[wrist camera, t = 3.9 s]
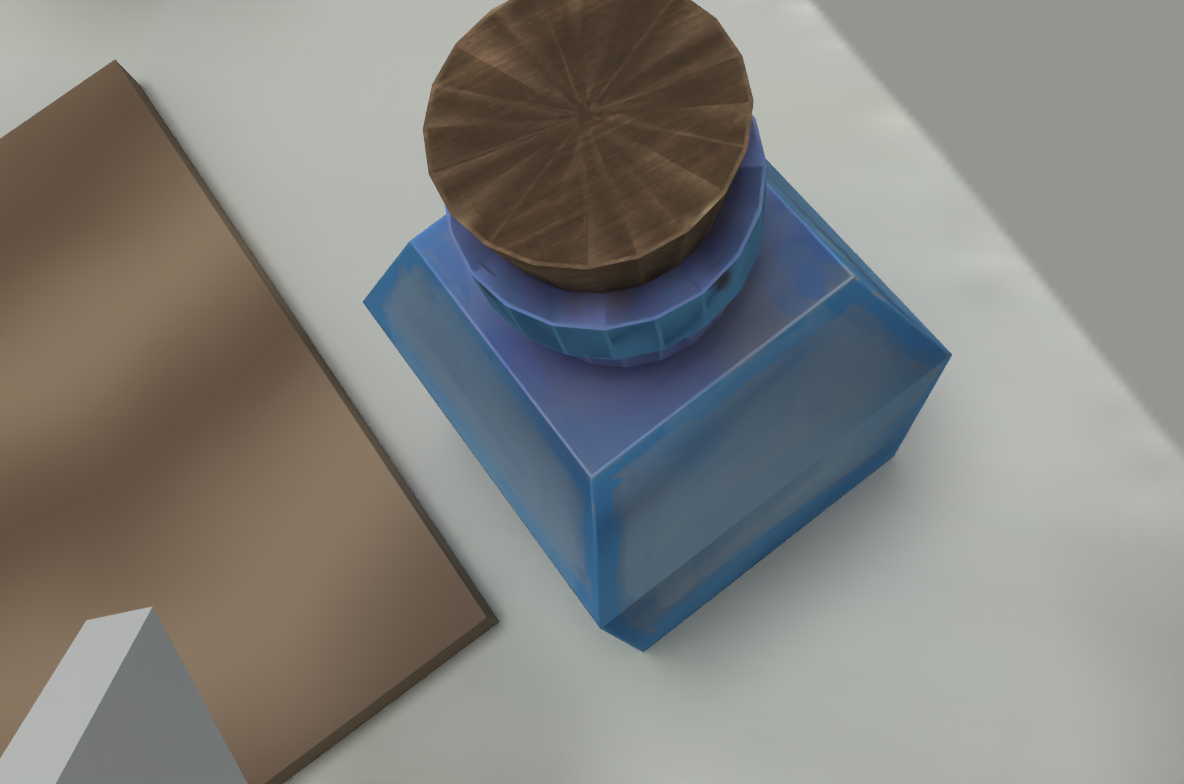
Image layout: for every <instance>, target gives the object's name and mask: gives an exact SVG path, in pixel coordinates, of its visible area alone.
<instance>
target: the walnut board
mask: <svg viewBox="0 0 1184 784" xmlns="http://www.w3.org/2000/svg"><path fill="white" fill-rule="evenodd" d="M152 606H153V608H154V610H155V612H156V614H157V615H158V617H159V619H160V621H161V623H162V625H163V627H164V628H165V630H166V632H167V634H168V636H169V638H170V640H171V642H172V643H173V645H174V647H175V649H176V651H177V653H178V655H179V656H180V658H181V660H182V662H183V664H184V666H185V668H186V670H187V671H188V673H189V675H190V677H191V679H192V681H193V683H194V684H195V686H196V688H197V690H198V692H199V694H200V696H201V698H202V699H203V701H204V703H205V705H206V707H207V709H208V711H209V712H210V714H211V716H212V718H213V720H214V722H215V724H216V726H217V727H218V729H219V731H220V733H221V735H222V737H223V739H224V740H225V742H226V744H227V746H228V748H229V750H230V752H231V754H232V755H233V757H234V759H235V761H236V763H237V765H238V767H239V768H240V770H241V772H242V774H243V776H244V778H245V780H246V781H247V783H248V784H282V783H284V782H285V781H286V780H288V779H289V778H290V777H292V776H293V775H294V774H296V773H297V772H298V771H300V770H301V769H302V768H304V767H305V766H306V765H308V764H309V763H310V762H312V761H313V760H314V759H316V758H317V757H318V756H320V755H321V754H322V753H324V752H325V751H326V750H328V749H329V748H331V747H332V746H333V745H335V744H336V743H337V742H339V741H340V740H341V739H343V738H344V737H345V736H347V735H348V734H349V733H351V732H352V731H353V730H355V729H356V728H357V727H359V726H360V725H361V724H363V723H364V722H365V721H367V720H368V719H369V718H371V717H372V716H373V715H375V714H376V713H377V712H379V711H380V710H381V709H383V708H384V707H385V706H387V705H388V704H389V703H391V702H392V701H393V700H395V699H396V698H397V697H399V696H400V695H401V694H403V693H404V692H405V691H407V690H408V689H409V688H411V687H412V686H413V685H415V684H416V683H417V682H419V681H420V680H421V679H423V678H424V677H425V676H427V675H428V674H429V673H431V672H432V671H433V670H435V669H436V668H437V667H439V666H440V665H441V664H443V663H444V662H445V661H447V660H448V659H449V658H451V657H452V656H453V655H455V654H456V653H458V652H459V651H460V650H462V649H463V648H464V647H466V646H467V645H468V644H470V643H471V642H472V641H474V640H475V639H476V638H478V637H479V636H480V635H482V634H483V633H484V632H486V631H487V630H488V629H490V628H491V627H492V626H494V625H495V624H496V623H498V622H499V621H498V620H497V618H496V617H495V615H494V614H493V612H492V611H491V609H490V608H489V606H488V605H487V603H486V602H485V600H484V599H483V597H482V596H481V594H480V593H479V591H478V590H477V588H476V587H475V585H474V584H473V582H472V581H471V579H470V578H469V576H468V575H467V573H466V572H465V570H464V569H463V567H462V566H461V564H460V563H459V561H458V560H457V558H456V557H455V555H454V554H453V552H452V551H451V549H450V548H449V546H448V545H447V543H446V542H445V540H444V539H443V538H442V536H441V535H440V533H439V532H438V530H437V529H436V527H435V526H434V524H433V523H432V521H431V520H430V518H429V517H428V515H427V514H426V512H425V511H424V509H423V508H422V506H421V505H420V503H419V502H418V500H417V499H416V497H415V496H414V494H413V493H412V491H411V490H410V488H409V487H408V485H407V484H406V482H405V481H404V479H403V478H402V476H401V475H400V473H399V472H398V470H397V469H396V467H395V466H394V464H393V463H392V461H391V460H390V458H389V457H388V455H387V454H386V452H385V451H384V449H383V448H382V446H381V445H380V443H379V442H378V440H377V439H376V437H375V436H374V434H373V433H372V432H371V430H370V429H369V427H368V426H367V424H366V423H365V421H364V420H363V418H362V417H361V415H360V414H359V412H358V411H357V409H356V408H355V406H354V405H353V403H352V402H351V400H350V399H349V397H348V396H347V394H346V393H345V391H344V390H343V388H342V387H341V385H340V384H339V382H338V381H337V379H336V378H335V376H334V375H333V373H332V372H331V370H330V369H329V367H328V366H327V364H326V363H325V361H324V360H323V358H322V357H321V355H320V354H319V352H318V351H317V349H316V348H315V346H314V345H313V343H312V342H311V340H310V339H309V337H308V336H307V334H306V333H305V331H304V330H303V328H302V327H301V325H300V324H299V323H298V321H297V320H296V318H295V317H294V315H293V314H292V312H291V311H290V309H289V308H288V306H287V305H286V303H285V302H284V300H283V299H282V297H281V296H280V294H279V293H278V291H277V290H276V288H275V287H274V285H273V284H272V282H271V281H270V279H269V278H268V276H267V275H266V273H265V272H264V270H263V269H262V267H261V266H260V264H259V263H258V261H257V260H256V258H255V257H254V255H253V254H252V252H251V251H250V249H249V248H248V246H247V245H246V243H245V242H244V240H243V239H242V237H241V236H240V234H239V233H238V231H237V230H236V228H235V227H234V225H233V224H232V222H231V221H230V219H229V218H228V217H227V215H226V214H225V212H224V211H223V209H222V208H221V206H220V205H219V203H218V202H217V200H216V199H215V197H214V196H213V194H212V193H211V191H210V190H209V188H208V187H207V185H206V184H205V182H204V181H203V179H202V178H201V176H200V175H199V173H198V172H197V170H196V169H195V167H194V166H193V164H192V163H191V161H190V160H189V158H188V157H187V155H186V154H185V152H184V151H183V149H182V148H181V146H180V145H179V143H178V142H177V140H176V139H175V137H174V136H173V134H172V133H171V131H170V130H169V128H168V127H167V125H166V124H165V122H164V121H163V119H162V118H161V116H160V115H159V113H158V112H157V110H156V109H155V108H154V106H153V105H152V103H151V102H150V100H149V99H148V97H147V96H146V94H145V93H144V91H143V90H142V88H141V87H140V85H139V84H138V83H137V82H136V81H135V79H134V78H133V77H132V76H131V75H130V74H129V73H128V72H127V71H126V70H125V69H124V68H123V67H122V66H121V65H120V64H119V63H118V62H117V61H116V60H114V61H112V62H111V63H109V64H108V65H106V66H105V67H103V68H102V69H101V70H99V71H98V72H96V73H95V74H93V75H92V76H90V77H89V78H88V79H86V80H85V81H83V82H82V83H80V84H79V85H77V86H76V87H75V88H73V89H72V90H70V91H69V92H67V93H66V94H64V95H63V96H61V97H60V98H59V99H57V100H56V101H54V102H53V103H51V104H50V105H48V106H47V107H46V108H44V109H43V110H41V111H40V112H38V113H37V114H35V115H34V116H32V117H31V118H30V119H28V120H27V121H25V122H24V123H22V124H21V125H19V126H18V127H17V128H15V129H14V130H12V131H11V132H9V133H8V134H6V135H5V136H3V137H2V138H1V139H0V758H1V756H2V755H3V753H4V751H5V750H6V748H7V747H8V745H9V743H10V742H11V740H12V739H13V737H14V735H15V734H16V732H17V731H18V729H19V727H20V726H21V724H22V723H23V721H24V719H25V718H26V716H27V715H28V713H29V711H30V710H31V708H32V707H33V705H34V703H35V702H36V700H37V699H38V697H39V695H40V694H41V692H42V691H43V689H44V687H45V686H46V684H47V683H48V681H49V679H50V678H51V676H52V675H53V673H54V671H55V670H56V668H57V667H58V665H59V663H60V662H61V660H62V659H63V657H64V655H65V654H66V652H67V651H68V649H69V647H70V646H71V644H72V643H73V641H74V639H75V638H76V636H77V635H78V633H79V631H80V630H81V628H82V627H83V625H84V623H85V622H86V620H90V619H95V618H100V617H105V616H109V615H114V614H119V613H124V612H128V611H133V610H138V609H143V608H148V607H152Z"/></svg>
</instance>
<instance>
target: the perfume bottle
mask: <svg viewBox="0 0 1184 784" xmlns="http://www.w3.org/2000/svg"><path fill="white" fill-rule="evenodd" d="M752 109H753V97H752V93H751V89H750V85H749V81H748V77H747V73H746V69H745V65H744V61H743V57H742V55H741V53H740V52H739V50H738V49H737V48H736V46H735V45H734V43H733V42H732V40H731V39H730V38H729V36H728V35H727V33H726V32H725V30H724V29H723V27H722V26H721V25H720V23H719V22H718V20H717V19H716V18H715V17H714V16H712V15H711V14H709V13H708V12H707V11H705V10H704V9H703V8H701V7H700V6H698V5H697V4H696V3H694V2H693V1H691V0H509V1H507V2H505V3H503V4H501V5H499V6H498V7H496V8H494V9H492V10H491V11H490V12H488V13H487V14H486V15H485V16H484V17H483V18H482V19H481V20H480V21H479V22H478V23H477V24H476V25H475V26H474V27H473V28H472V29H471V30H470V31H469V32H468V33H466V34H465V35H464V36H463V37H462V38H461V39H460V40H459V41H458V42H457V43H456V44H455V46H454V48H453V49H452V51H451V53H450V55H449V56H448V58H447V60H446V62H445V63H444V65H443V67H442V69H441V70H440V72H439V74H438V76H437V77H436V79H435V81H434V82H433V84H432V88H431V93H430V98H429V102H428V107H427V112H426V117H425V121H424V126H423V134H424V142H425V149H426V157H427V164H428V172H429V175H430V177H431V179H432V181H433V183H434V185H435V186H436V188H437V190H438V192H439V194H440V196H441V198H442V200H443V201H444V203H445V206H446V213H447V214H446V215H445V216H443V217H442V218H441V219H439V220H438V221H436V222H435V223H434V224H432V225H431V226H430V227H428V228H427V229H426V230H424V231H423V232H422V233H420V234H419V235H417V236H416V237H415V238H413V239H412V240H411V241H409V243H408V244H407V245H406V247H405V248H404V249H403V250H402V252H401V253H400V254H399V256H398V257H397V258H396V259H395V261H394V262H393V263H392V265H391V266H390V267H389V268H388V270H387V271H386V272H385V274H384V275H383V276H382V278H381V279H380V280H379V281H378V283H377V284H376V285H375V287H374V288H373V289H372V290H371V292H370V293H369V294H368V296H367V297H366V298H365V299H364V301H363V303H364V304H365V306H366V307H367V309H368V310H369V311H370V313H371V314H372V315H373V317H374V318H375V320H376V321H377V322H378V324H379V325H380V326H381V328H382V329H383V331H384V332H385V333H386V335H387V336H388V337H389V339H390V340H391V342H392V343H393V344H394V346H395V347H396V348H397V350H398V351H399V353H400V354H401V355H402V357H403V358H404V359H405V361H406V362H407V364H408V365H409V366H410V368H411V369H412V370H413V372H414V373H415V374H416V376H417V377H418V379H419V380H420V381H421V383H422V384H423V385H424V387H425V388H426V390H427V391H428V392H429V394H430V395H431V396H432V398H433V399H434V401H435V402H436V403H437V405H438V406H439V407H440V409H441V410H442V412H443V413H444V414H445V416H446V417H447V418H448V420H449V421H450V423H451V424H452V425H453V427H454V428H455V429H456V431H457V432H458V434H459V435H460V436H461V438H462V439H463V440H464V442H465V443H466V445H467V446H468V447H469V449H470V450H471V451H472V453H473V454H474V456H475V457H476V458H477V460H478V461H479V462H480V464H481V465H482V467H483V468H484V469H485V471H486V472H487V473H488V475H489V476H490V477H491V479H492V480H493V482H494V483H495V484H496V486H497V487H498V488H499V490H500V491H501V493H502V494H503V495H504V497H505V498H506V499H507V501H508V502H509V504H510V505H511V506H512V508H513V509H514V510H515V512H516V513H517V515H518V516H519V517H520V519H521V520H522V521H523V523H524V524H525V526H526V527H527V528H528V530H529V531H530V532H531V534H532V535H533V537H534V538H535V539H536V541H537V542H538V543H539V545H540V546H541V548H542V549H543V550H544V552H545V553H546V554H547V556H548V557H549V559H550V560H551V561H552V563H553V564H554V565H555V567H556V568H557V570H558V571H559V572H560V574H561V575H562V576H563V578H564V579H565V580H566V582H567V583H568V585H569V586H570V587H571V589H572V590H573V591H574V593H575V594H576V596H577V597H578V598H579V600H580V601H581V602H582V604H583V605H584V607H585V608H586V609H587V611H588V612H589V613H590V615H591V616H592V618H593V619H594V620H595V622H596V623H597V624H598V626H599V627H600V628H601V629H602V630H604V631H606V632H608V633H610V634H611V635H613V636H615V637H617V638H619V639H620V640H622V641H624V642H626V643H628V644H629V645H631V646H633V647H635V648H637V649H638V650H640V651H642V652H644V651H645V650H647V649H648V648H649V647H650V646H652V645H653V644H654V643H656V642H657V641H658V640H659V639H661V638H662V637H663V636H665V635H666V634H667V633H668V632H670V631H671V630H672V629H673V628H675V627H676V626H677V625H679V624H680V623H681V622H682V621H684V620H685V619H686V618H688V617H689V616H690V615H691V614H693V613H694V612H695V611H696V610H698V609H699V608H700V607H702V606H703V605H704V604H705V603H707V602H708V601H709V600H711V599H712V598H713V597H714V596H716V595H717V594H718V593H719V592H721V591H722V590H723V589H725V588H726V587H727V586H728V585H730V584H731V583H732V582H733V581H735V580H736V579H737V578H739V577H740V576H741V575H742V574H744V573H745V572H746V571H748V570H749V569H750V568H751V567H753V566H754V565H755V564H756V563H758V562H759V561H760V560H762V559H763V558H764V557H765V556H767V555H768V554H769V553H771V552H772V551H773V550H774V549H776V548H777V547H778V546H779V545H781V544H782V543H783V542H785V541H786V540H787V539H788V538H790V537H791V536H792V535H794V534H795V533H796V532H797V531H799V530H800V529H801V528H802V527H804V526H805V525H806V524H808V523H809V522H810V521H811V520H813V519H814V518H815V517H817V516H818V515H819V514H820V513H822V512H823V511H824V510H825V509H827V508H828V507H829V506H831V505H832V504H833V503H834V502H836V501H837V500H838V499H840V498H841V497H842V496H843V495H845V494H846V493H847V492H848V491H850V490H851V489H852V488H854V487H855V486H856V485H857V484H859V483H860V482H861V481H863V480H864V479H865V478H866V477H868V476H869V475H870V474H871V473H873V472H874V471H875V470H877V469H878V468H879V467H880V466H882V465H883V464H884V463H886V462H887V461H888V460H889V459H891V458H892V457H893V456H894V455H895V453H896V451H897V450H898V448H899V446H900V445H901V443H902V441H903V439H904V438H905V436H906V434H907V432H908V431H909V429H910V427H911V425H912V424H913V422H914V420H915V418H916V417H917V415H918V413H919V411H920V410H921V408H922V406H923V405H924V403H925V401H926V399H927V398H928V396H929V394H930V392H931V391H932V389H933V387H934V385H935V384H936V382H937V380H938V378H939V377H940V375H941V373H942V371H943V370H944V368H945V366H946V365H947V363H948V361H949V359H950V358H951V356H952V354H951V353H950V352H949V351H948V350H947V349H946V348H945V347H944V346H943V345H942V343H941V342H940V341H939V340H938V339H937V338H936V337H935V336H934V335H933V334H932V333H931V332H930V331H929V330H928V329H927V328H926V327H925V326H924V325H923V324H922V322H921V321H920V320H919V319H918V318H917V317H916V316H915V315H914V314H913V313H912V312H911V311H910V310H909V309H908V308H907V307H906V306H905V305H904V304H903V303H902V301H901V300H900V299H899V298H898V297H897V296H896V295H895V294H894V293H893V292H892V291H891V290H890V289H889V288H888V287H887V286H886V285H885V284H884V283H883V282H882V280H881V279H880V278H879V277H878V276H877V275H876V274H875V273H874V272H873V271H872V270H871V269H870V268H869V267H868V266H867V265H866V264H865V263H864V262H863V260H862V259H861V258H860V257H859V256H858V255H857V254H856V253H855V252H854V251H853V250H852V249H851V248H850V247H849V246H848V245H847V244H846V243H845V242H844V241H843V239H842V238H841V237H840V236H839V235H838V234H837V233H836V232H835V231H834V230H833V229H832V228H831V227H830V226H829V225H828V224H827V223H826V222H825V221H824V220H823V218H822V217H821V216H820V215H819V214H818V213H817V212H816V211H815V210H814V209H813V208H812V207H811V206H810V205H809V204H808V203H807V202H806V201H805V200H804V199H803V197H802V196H801V195H800V194H799V193H798V192H797V191H796V190H795V189H794V188H793V187H792V186H791V185H790V184H789V183H788V182H787V181H786V180H785V179H784V178H783V176H782V175H781V174H780V173H779V172H778V171H777V170H776V169H775V168H774V167H773V166H772V165H771V164H770V163H769V162H768V161H767V160H766V159H765V155H764V151H763V147H762V143H761V139H760V135H759V131H758V127H757V123H756V119H755V118H754V116H753V115H752Z"/></svg>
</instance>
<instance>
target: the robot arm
mask: <svg viewBox="0 0 1184 784" xmlns="http://www.w3.org/2000/svg"><path fill="white" fill-rule="evenodd" d="M0 784H248V783H247V781H246V780H245V778H244V776H243V774H242V772H241V770H240V768H239V767H238V765H237V763H236V761H235V759H234V757H233V755H232V754H231V752H230V750H229V748H228V746H227V744H226V742H225V740H224V739H223V737H222V735H221V733H220V731H219V729H218V727H217V726H216V724H215V722H214V720H213V718H212V716H211V714H210V712H209V711H208V709H207V707H206V705H205V703H204V701H203V699H202V698H201V696H200V694H199V692H198V690H197V688H196V686H195V684H194V683H193V681H192V679H191V677H190V675H189V673H188V671H187V670H186V668H185V666H184V664H183V662H182V660H181V658H180V656H179V655H178V653H177V651H176V649H175V647H174V645H173V643H172V642H171V640H170V638H169V636H168V634H167V632H166V630H165V628H164V627H163V625H162V623H161V621H160V619H159V617H158V615H157V614H156V612H155V610H154V608H153V606H152V607H148V608H143V609H138V610H133V611H128V612H124V613H119V614H114V615H109V616H105V617H100V618H95V619H90V620H86V622H85V623H84V625H83V627H82V628H81V630H80V631H79V633H78V635H77V636H76V638H75V639H74V641H73V643H72V644H71V646H70V647H69V649H68V651H67V652H66V654H65V655H64V657H63V659H62V660H61V662H60V663H59V665H58V667H57V668H56V670H55V671H54V673H53V675H52V676H51V678H50V679H49V681H48V683H47V684H46V686H45V687H44V689H43V691H42V692H41V694H40V695H39V697H38V699H37V700H36V702H35V703H34V705H33V707H32V708H31V710H30V711H29V713H28V715H27V716H26V718H25V719H24V721H23V723H22V724H21V726H20V727H19V729H18V731H17V732H16V734H15V735H14V737H13V739H12V740H11V742H10V743H9V745H8V747H7V748H6V750H5V751H4V753H3V755H2V756H1V758H0Z"/></svg>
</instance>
